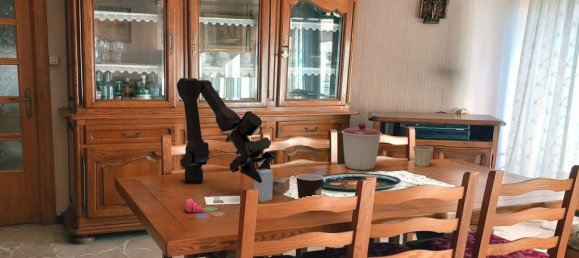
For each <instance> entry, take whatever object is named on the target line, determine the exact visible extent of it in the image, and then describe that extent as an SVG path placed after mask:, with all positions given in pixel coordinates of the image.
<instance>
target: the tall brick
mask: <svg viewBox="0 0 579 258" xmlns="http://www.w3.org/2000/svg"><path fill="white" fill-rule="evenodd" d="M256 170H257V172H258V174H259V175H260V177H261V179H262V182H261V183H259V182H257V181H255V180H254V179H253V190H254V189H259V201H258V202H259V203H265V202H269V201H272V200H273V193H272V190H273V176H274V170H272V169H271V170H269V169H260V170H259V169H256Z"/></svg>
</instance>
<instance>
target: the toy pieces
mask: <svg viewBox="0 0 579 258" xmlns="http://www.w3.org/2000/svg"><path fill="white" fill-rule="evenodd" d="M184 204H185V206H186V207H185V210H186V212H187V213H189V214H190V213H193V214H195V215H194V216H195V217H196V218H199V219H207V218H208V219H209V217H210V215H213V216H215V217H216V216H217V217H221V216H224V215H225V214H226V212H223V211H216V210H218V208H217V207H215V206H207V207H202V206H201V205H200V204H198V203H197V202H195V201H194V199H192V198H189V197H188V198H187V199H186V201H185V202H184ZM209 212H211V213H210V215H209V214H208V213H209ZM196 213H197V214H196Z"/></svg>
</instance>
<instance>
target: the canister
mask: <svg viewBox="0 0 579 258" xmlns="http://www.w3.org/2000/svg"><path fill="white" fill-rule="evenodd" d="M357 126H358V127H357ZM357 126H356V127H346V128H345V129H343V130H342V131H341V133H342V142H343V156H344V157H343V158H344V159H343V160H344V164H345V166H346V167H347V168H348V169H351V170H356V171H369V170H373V169H374V168H375V166H376V163H377V159H378V158H377V157H378V153H379V146H380V141H381V136H383V135H382V134H383V133H382V132H380V131H379V130H378V129H375V128H371V127H367V124H366V122H365V121H360V122H358V123H357Z"/></svg>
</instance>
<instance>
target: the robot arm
mask: <svg viewBox="0 0 579 258" xmlns="http://www.w3.org/2000/svg"><path fill="white" fill-rule="evenodd" d="M176 89H177V93H178V94H177V95H178V96H179V98H180V99H181V100H182V102H183V106H184V113H185V114H184V115H185V122H186V129H187V138H188V139H187V140H188V141H187V143H186V146H185V149H184V150H185V151H184V152H185V154H184V155H183V156H182V158H181V159H180V160H179V161H180V166H181V168H184V180H183V183H184V184H202V182H203V181H204V180H205V178H204V177H205V176H204V175H205V174H204V173H205V169H204V168H203V166H206V165H207V162H208V159H209V157H210V149H209V143H208V142H206V141H204V139H203V138H202V129H201V121H200V113H199V112H200V111H199V104H198V99H199V97H200V94H201V95H202V97H203V99H204V100H205V101H206V103H207V104H208V106H209V107H210V109H211V110H212V112H213V113H214V115H215V122H216V124H217V126H218V128H219V130H220V131H221V132H230V133H228V134H226V138H225V143H232V144H233V146H234V148H235V149H236V151H235V154H236V155H238V156H235V158H234V159H233V160H232V161H231V162H230V163H229V170H230V171H231V173H232V174H233V173H237V172H239V174H243V175H244V176H247V177H249V178H250V179H252V180H253V181H254V180H255V181H257V182H259V183H261V182H262V179H261V177H260V175H259V174H258V172H257V170H260V169H269V170H272V169H271V163H272V162H273V161H274V160H275V159H276V157H278V154H277V153H276V151H275V150H269V149H270V146H272V142H271V140H270V139H269V137H268V136H265V137H263V138H261V139H258V140H251V139H250V137H252V136H253V135H254V134H255V133H256V131H257V130H258V129H259V128H260V127H261V126H262V124H263V120H262V118H261V117H260V116H258V115H257V114H256V113H254V112H252V111H251V110H248V111H245V113H244V115H243V116H242V117H240V115H239V114H237V113H236V112H235V110H233V109H231V108H230V107H228V106H227V105H226V103H225V102H224V101H223V99H222V98H221V96H220V95H219V94H218V92H217V91H216V90H215V89H216V88H214V87H213V83H212V82H211V81H210V80H209V79H199V80H198V78H195V77H181V78H179V79H178V81H177V82H176ZM266 149H268V150H267V151H264V153H263V150H266ZM260 155H261V156H260ZM256 164H258V167H257V169H256V167H255V166H256ZM239 167H240V168H239Z"/></svg>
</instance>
